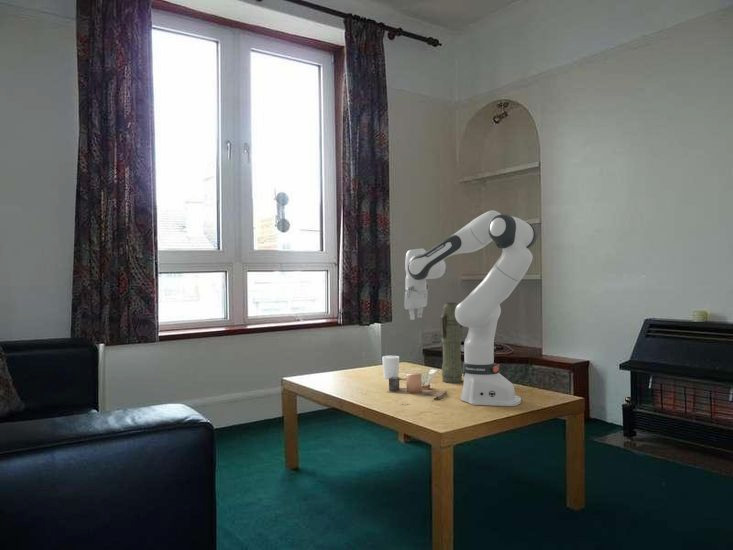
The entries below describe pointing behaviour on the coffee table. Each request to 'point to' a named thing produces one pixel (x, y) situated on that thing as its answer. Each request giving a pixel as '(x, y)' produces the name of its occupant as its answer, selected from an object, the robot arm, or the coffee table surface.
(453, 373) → the thermos
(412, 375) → the terracotta upright block
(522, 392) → the coffee table surface
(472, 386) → the robot arm
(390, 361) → the white cup
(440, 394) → the walnut strip
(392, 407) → the coffee table surface
